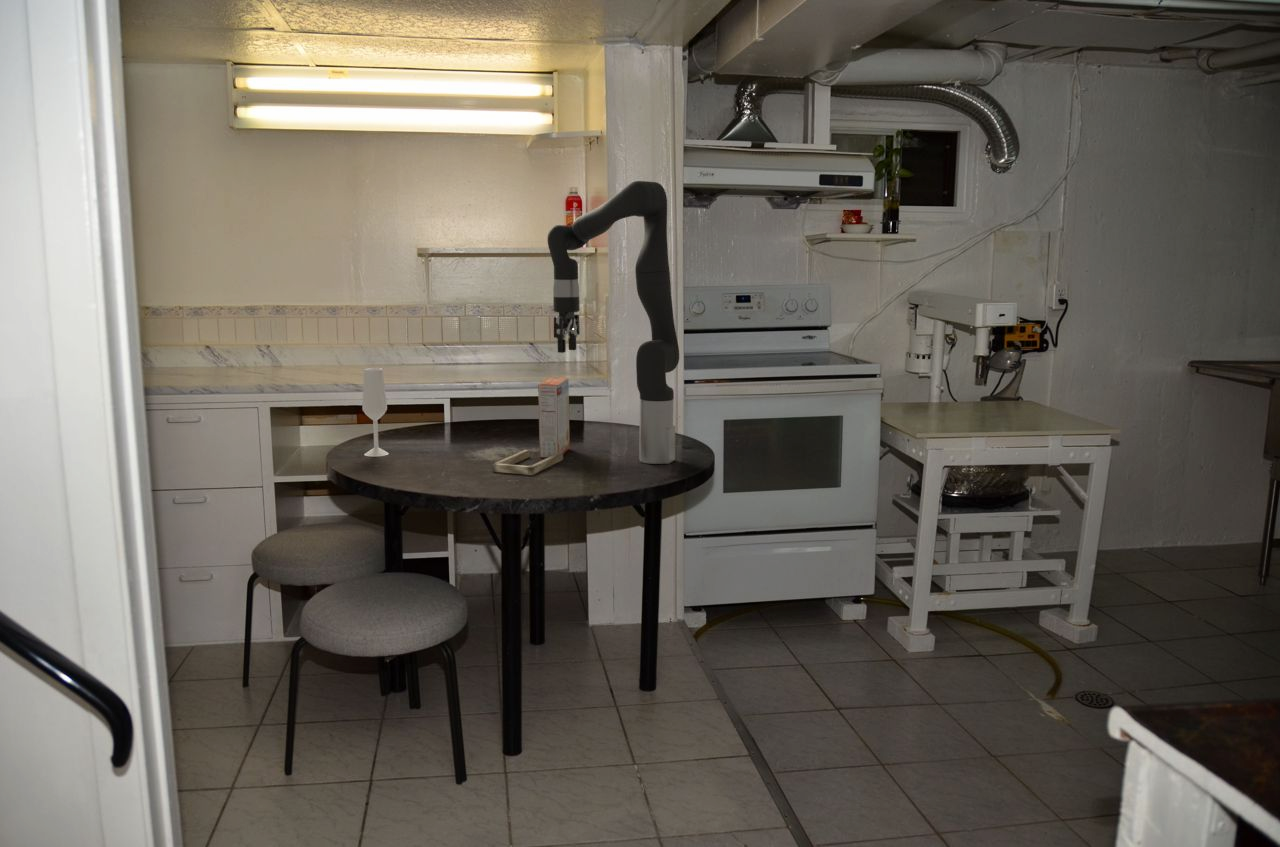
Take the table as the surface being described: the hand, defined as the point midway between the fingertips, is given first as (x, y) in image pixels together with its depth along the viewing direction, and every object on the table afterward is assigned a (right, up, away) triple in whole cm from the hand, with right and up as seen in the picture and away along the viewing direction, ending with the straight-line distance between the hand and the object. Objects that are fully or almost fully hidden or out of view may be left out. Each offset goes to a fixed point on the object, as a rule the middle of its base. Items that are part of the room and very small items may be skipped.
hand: (567, 351), depth 288 cm
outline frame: (-9, -32, -24) cm, 41 cm away
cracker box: (-3, -30, -9) cm, 31 cm away
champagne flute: (-53, -30, -12) cm, 62 cm away
